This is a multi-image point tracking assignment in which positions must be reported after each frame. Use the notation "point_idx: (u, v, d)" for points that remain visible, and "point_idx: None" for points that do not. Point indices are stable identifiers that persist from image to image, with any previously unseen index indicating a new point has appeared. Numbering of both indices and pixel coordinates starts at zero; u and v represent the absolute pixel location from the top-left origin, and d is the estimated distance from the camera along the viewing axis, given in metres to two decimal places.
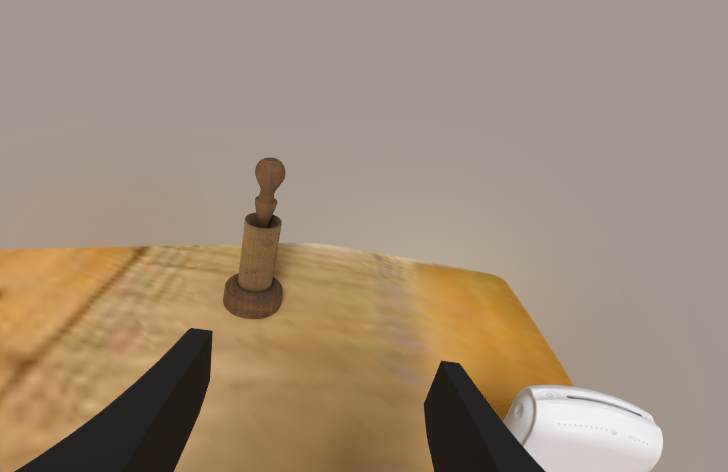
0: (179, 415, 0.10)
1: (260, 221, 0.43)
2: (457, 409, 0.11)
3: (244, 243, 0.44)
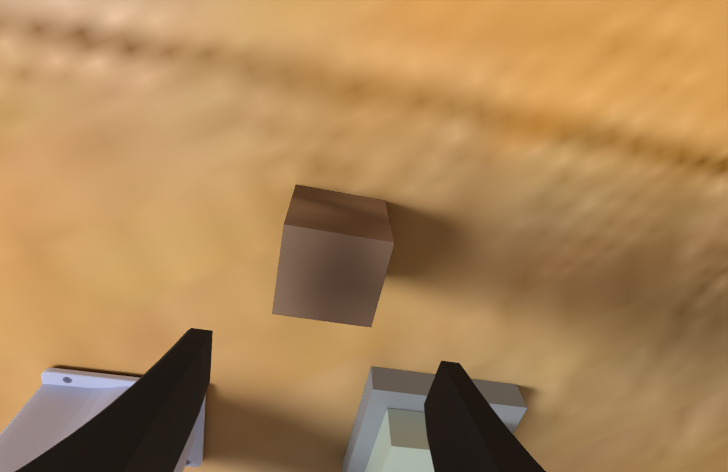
0: (179, 415, 0.10)
1: None
2: (457, 409, 0.11)
3: None
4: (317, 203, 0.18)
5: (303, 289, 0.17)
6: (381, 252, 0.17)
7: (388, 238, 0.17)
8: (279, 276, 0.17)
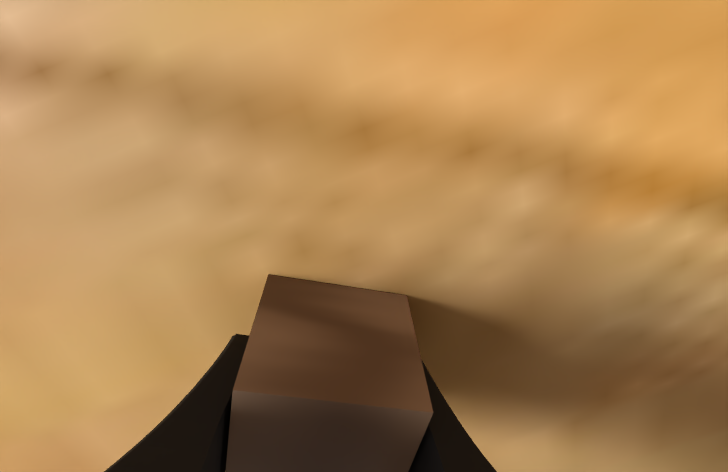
0: None
1: None
2: None
3: None
4: (300, 319, 0.11)
5: None
6: (408, 426, 0.09)
7: (421, 402, 0.09)
8: (230, 461, 0.10)
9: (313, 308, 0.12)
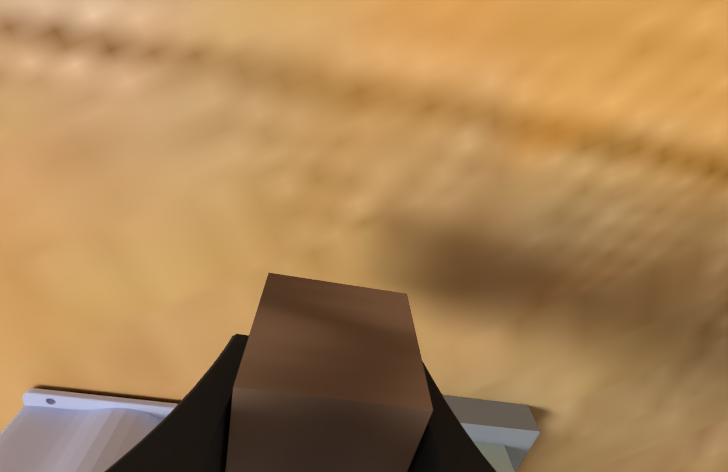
0: None
1: None
2: None
3: None
4: (300, 317, 0.11)
5: None
6: (408, 424, 0.09)
7: (421, 399, 0.09)
8: (231, 458, 0.10)
9: (313, 306, 0.12)
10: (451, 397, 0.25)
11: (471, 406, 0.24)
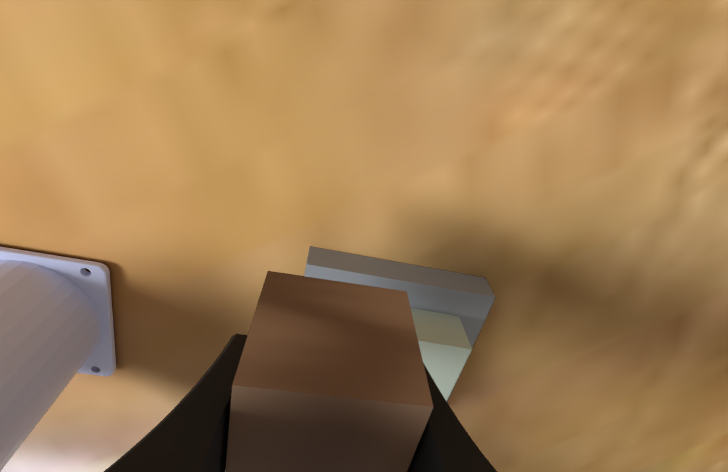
0: None
1: None
2: None
3: None
4: (300, 314, 0.11)
5: None
6: (408, 421, 0.09)
7: (421, 397, 0.09)
8: (230, 457, 0.10)
9: (313, 304, 0.12)
10: (398, 262, 0.22)
11: (419, 271, 0.22)
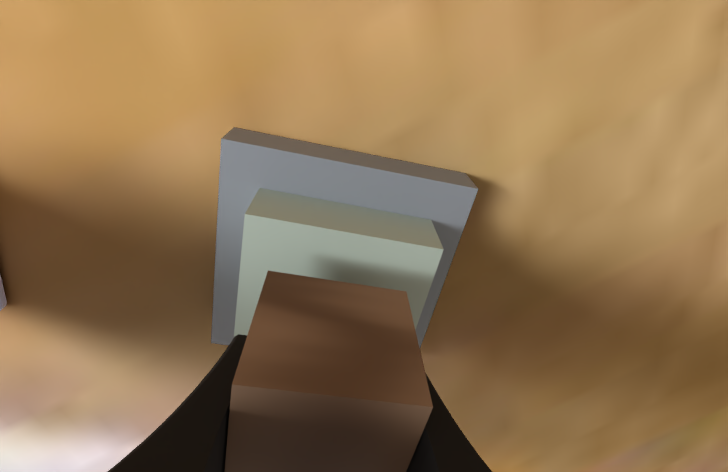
0: None
1: None
2: None
3: None
4: (300, 314, 0.11)
5: None
6: (408, 421, 0.09)
7: (421, 397, 0.09)
8: (230, 456, 0.10)
9: (312, 304, 0.12)
10: (351, 151, 0.17)
11: (379, 160, 0.17)
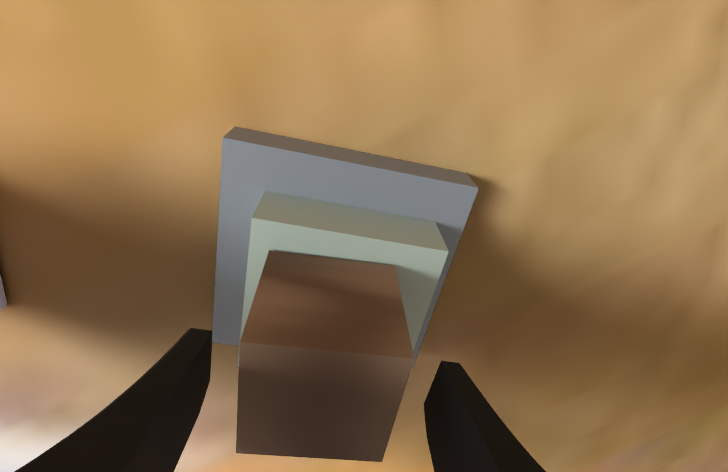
0: (179, 415, 0.10)
1: None
2: (457, 409, 0.11)
3: None
4: (298, 286, 0.12)
5: (278, 422, 0.12)
6: (393, 372, 0.11)
7: (404, 350, 0.11)
8: (241, 408, 0.11)
9: (309, 277, 0.13)
10: (352, 150, 0.17)
11: (380, 159, 0.17)
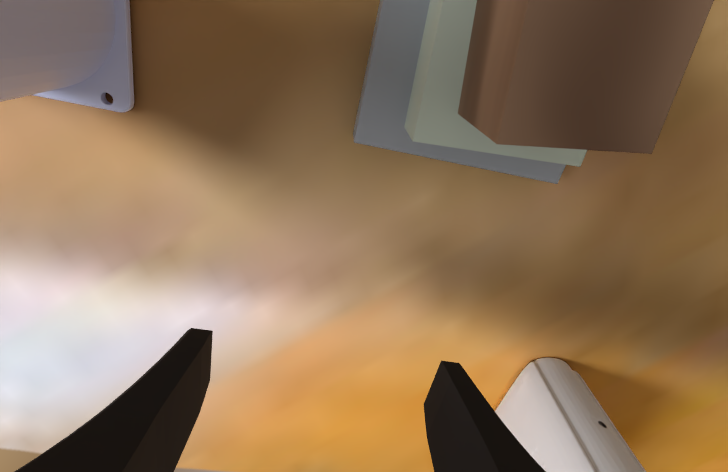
0: (179, 415, 0.10)
1: None
2: (457, 409, 0.11)
3: None
4: None
5: (553, 87, 0.10)
6: None
7: None
8: (518, 65, 0.10)
9: None
10: None
11: None
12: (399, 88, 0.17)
